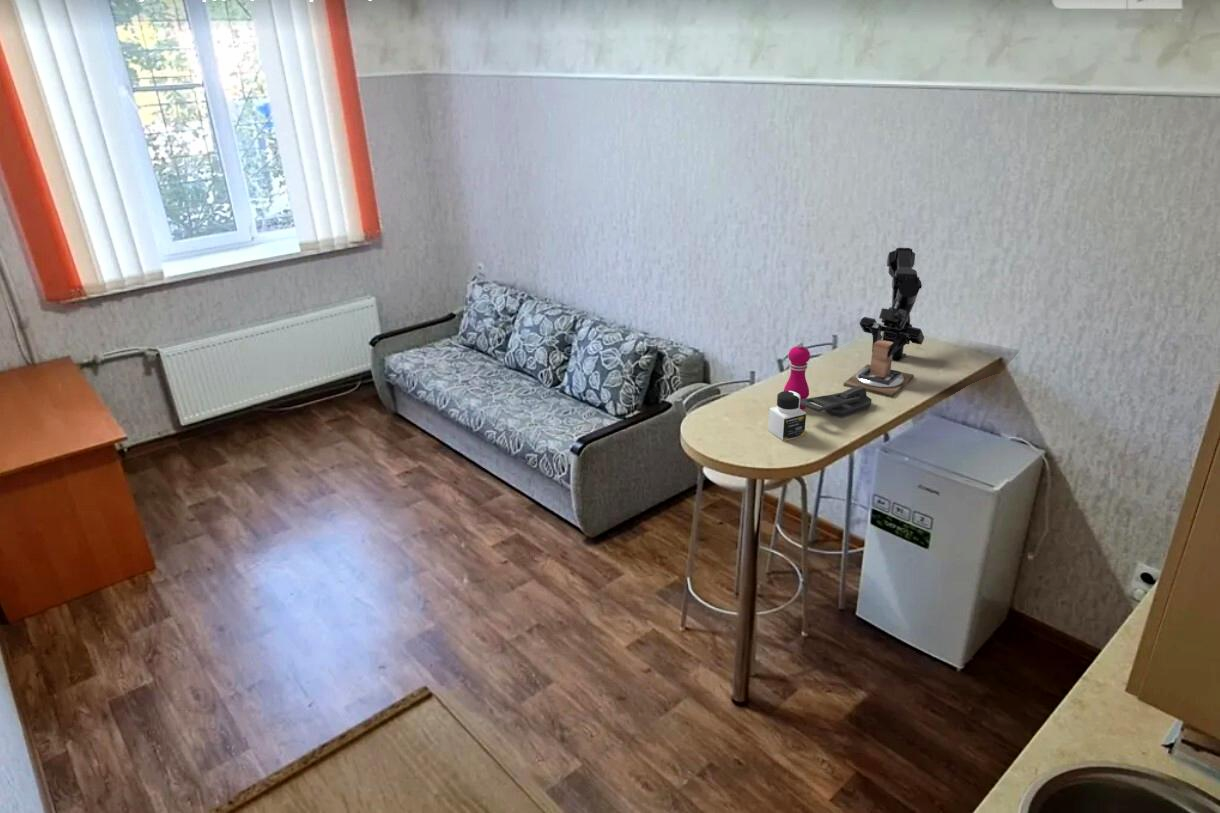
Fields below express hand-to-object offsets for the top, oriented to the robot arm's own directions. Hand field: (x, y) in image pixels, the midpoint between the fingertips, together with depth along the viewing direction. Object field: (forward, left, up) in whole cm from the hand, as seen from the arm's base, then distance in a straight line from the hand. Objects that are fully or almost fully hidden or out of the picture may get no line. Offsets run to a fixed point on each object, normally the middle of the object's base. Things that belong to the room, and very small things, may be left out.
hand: (880, 354), depth 235 cm
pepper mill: (+29, -13, -10) cm, 33 cm away
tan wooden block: (-1, 0, -7) cm, 7 cm away
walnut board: (-1, 0, -9) cm, 10 cm away
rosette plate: (-1, 0, -9) cm, 10 cm away
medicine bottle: (+46, -7, -10) cm, 47 cm away
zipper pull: (+26, -2, -10) cm, 28 cm away
